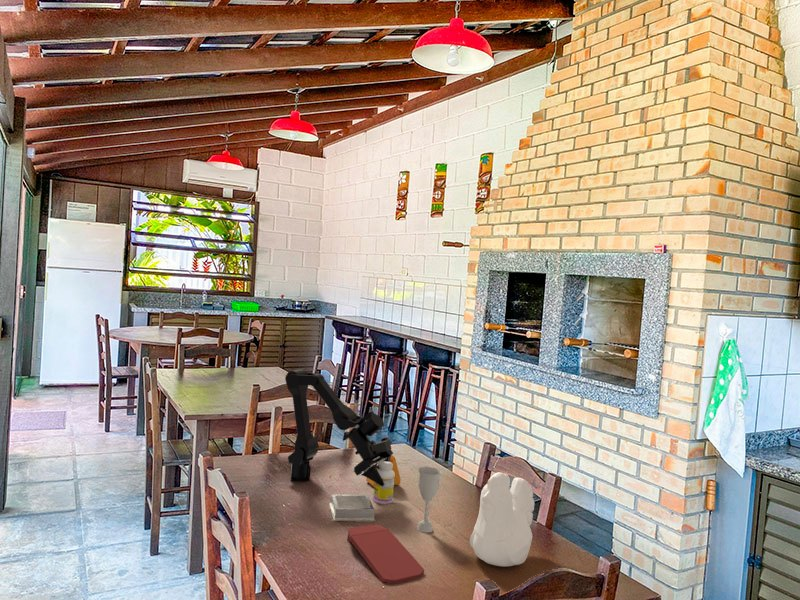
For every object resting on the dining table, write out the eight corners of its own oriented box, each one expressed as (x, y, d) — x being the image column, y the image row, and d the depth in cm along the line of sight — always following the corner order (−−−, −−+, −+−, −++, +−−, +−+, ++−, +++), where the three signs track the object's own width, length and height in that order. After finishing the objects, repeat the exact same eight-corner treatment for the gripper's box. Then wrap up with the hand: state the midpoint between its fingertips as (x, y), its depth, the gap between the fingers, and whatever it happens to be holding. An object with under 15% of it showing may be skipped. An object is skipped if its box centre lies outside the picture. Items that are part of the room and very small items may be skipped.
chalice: (439, 527, 180) (444, 469, 179) (433, 535, 173) (438, 476, 173) (416, 522, 182) (421, 465, 181) (410, 530, 176) (415, 471, 175)
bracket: (391, 479, 219) (394, 448, 219) (400, 486, 212) (402, 454, 212) (365, 481, 214) (368, 449, 214) (373, 488, 208) (376, 455, 207)
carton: (423, 589, 150) (377, 535, 171) (427, 572, 149) (380, 519, 170) (383, 599, 143) (340, 541, 164) (386, 581, 143) (343, 526, 163)
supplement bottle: (372, 496, 200) (375, 459, 200) (391, 497, 201) (394, 460, 200) (373, 504, 193) (376, 466, 193) (393, 505, 194) (396, 467, 194)
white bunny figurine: (495, 581, 149) (504, 486, 149) (455, 554, 162) (463, 467, 161) (558, 560, 164) (567, 474, 163) (517, 538, 177) (524, 457, 176)
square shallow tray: (333, 521, 177) (334, 509, 177) (329, 504, 190) (330, 493, 190) (375, 521, 180) (376, 509, 180) (368, 504, 192) (369, 494, 192)
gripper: (365, 436, 190) (392, 477, 185) (390, 425, 206) (416, 462, 202) (342, 455, 193) (368, 495, 189) (369, 443, 210) (393, 480, 206)
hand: (388, 482), depth 196 cm, fingers closed on supplement bottle, 7 cm apart
